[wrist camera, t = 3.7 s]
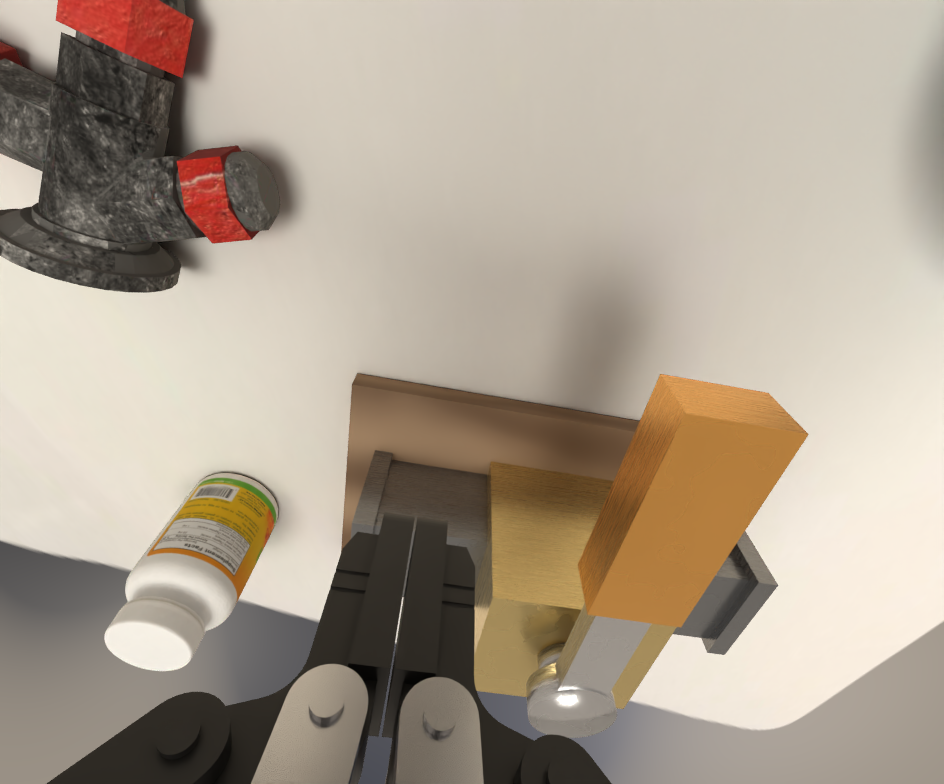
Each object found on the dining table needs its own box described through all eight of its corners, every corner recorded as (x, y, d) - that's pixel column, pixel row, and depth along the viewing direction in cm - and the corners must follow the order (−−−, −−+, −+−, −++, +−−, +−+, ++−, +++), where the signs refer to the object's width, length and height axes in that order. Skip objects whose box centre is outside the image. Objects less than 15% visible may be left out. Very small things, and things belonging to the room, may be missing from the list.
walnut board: (357, 373, 26) (352, 384, 25) (777, 444, 28) (788, 457, 27) (345, 550, 33) (340, 564, 32) (680, 598, 35) (686, 613, 34)
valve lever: (594, 702, 22) (603, 752, 21) (517, 693, 22) (519, 743, 20) (775, 394, 14) (816, 435, 12) (653, 372, 14) (677, 412, 12)
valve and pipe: (377, 437, 27) (327, 592, 19) (730, 494, 29) (835, 661, 20) (368, 525, 31) (322, 689, 22) (683, 571, 32) (755, 742, 24)
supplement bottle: (246, 544, 33) (166, 692, 25) (177, 497, 31) (65, 642, 23) (297, 507, 31) (229, 655, 23) (228, 456, 29) (125, 596, 21)
